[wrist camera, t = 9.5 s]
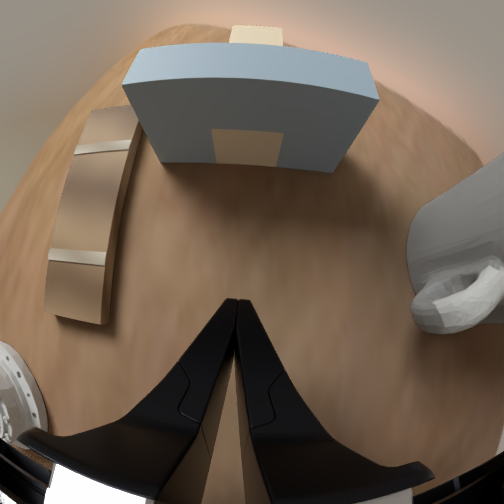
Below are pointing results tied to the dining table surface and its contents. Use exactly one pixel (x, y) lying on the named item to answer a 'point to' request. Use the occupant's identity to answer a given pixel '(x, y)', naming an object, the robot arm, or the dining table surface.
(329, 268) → the dining table surface
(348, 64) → the light blue upright panel
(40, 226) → the dining table surface
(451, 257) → the coffee mug
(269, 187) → the dining table surface
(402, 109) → the dining table surface
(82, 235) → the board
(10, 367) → the mechanical component
